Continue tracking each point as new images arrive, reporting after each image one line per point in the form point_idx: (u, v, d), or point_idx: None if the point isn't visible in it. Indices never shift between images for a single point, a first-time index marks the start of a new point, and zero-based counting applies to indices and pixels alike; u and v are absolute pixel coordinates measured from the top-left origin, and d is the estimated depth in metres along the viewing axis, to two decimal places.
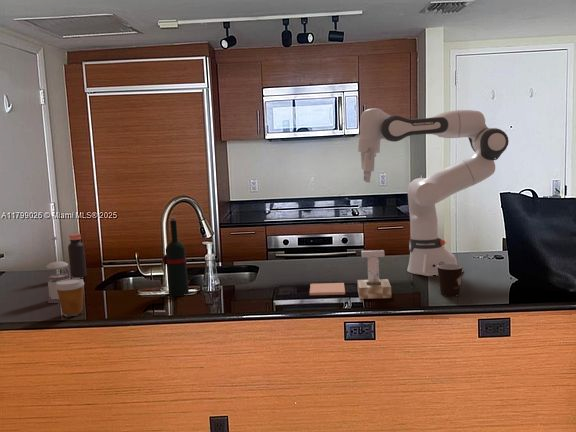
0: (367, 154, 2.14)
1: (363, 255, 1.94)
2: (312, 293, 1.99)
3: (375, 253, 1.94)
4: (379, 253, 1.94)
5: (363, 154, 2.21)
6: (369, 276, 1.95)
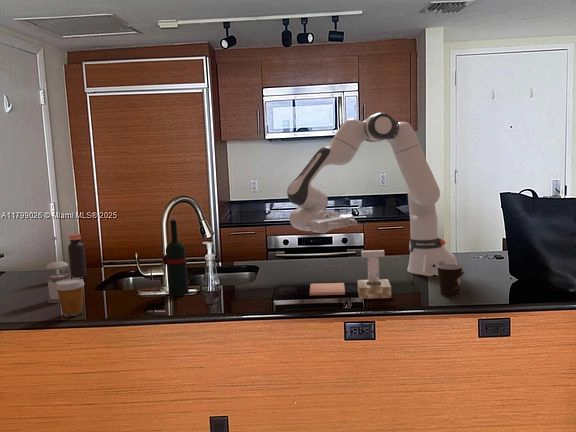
0: (309, 228, 2.05)
1: (363, 255, 1.94)
2: (312, 293, 1.99)
3: (375, 253, 1.94)
4: (379, 253, 1.94)
5: None
6: (369, 276, 1.95)
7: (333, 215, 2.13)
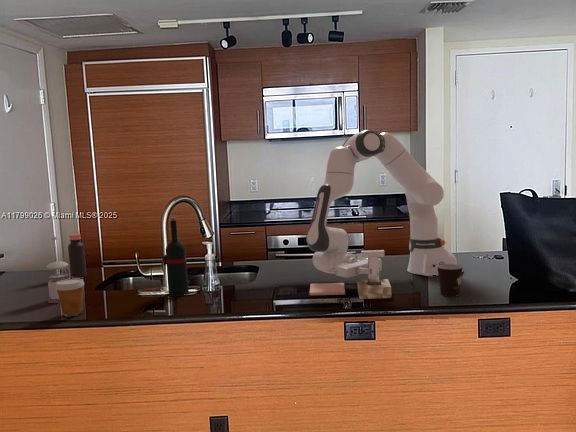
0: (335, 273, 1.98)
1: (363, 255, 1.94)
2: (312, 293, 1.99)
3: (375, 253, 1.94)
4: (379, 253, 1.94)
5: None
6: (369, 276, 1.95)
7: (359, 258, 2.05)
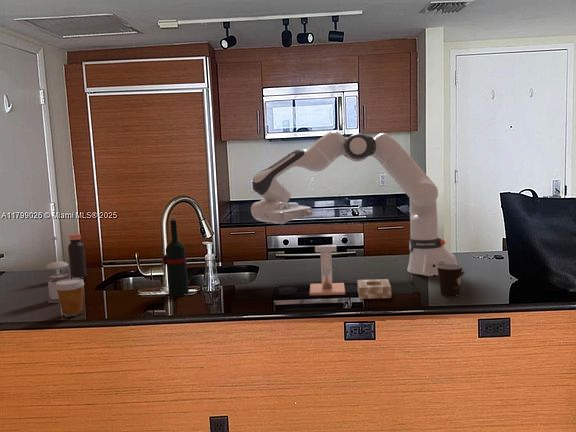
0: (266, 218, 2.13)
1: (316, 250, 2.02)
2: (312, 293, 1.99)
3: (327, 248, 2.02)
4: (331, 248, 2.02)
5: None
6: (322, 270, 2.03)
7: (291, 206, 2.21)
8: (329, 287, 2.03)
